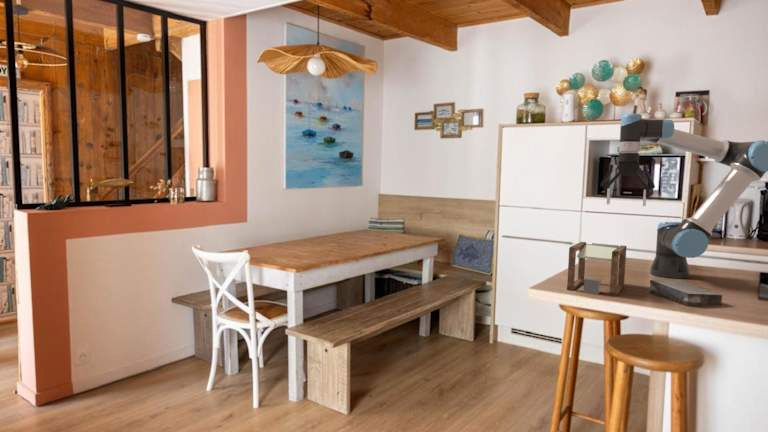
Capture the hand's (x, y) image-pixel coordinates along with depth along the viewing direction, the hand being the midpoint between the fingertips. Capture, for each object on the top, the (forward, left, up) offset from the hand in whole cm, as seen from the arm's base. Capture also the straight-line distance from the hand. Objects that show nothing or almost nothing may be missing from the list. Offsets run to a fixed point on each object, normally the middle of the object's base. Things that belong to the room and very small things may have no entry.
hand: (625, 205), depth 216 cm
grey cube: (+5, +32, -26) cm, 42 cm away
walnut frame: (+5, +25, -31) cm, 40 cm away
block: (-24, +22, -31) cm, 45 cm away
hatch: (+5, +21, -21) cm, 30 cm away
